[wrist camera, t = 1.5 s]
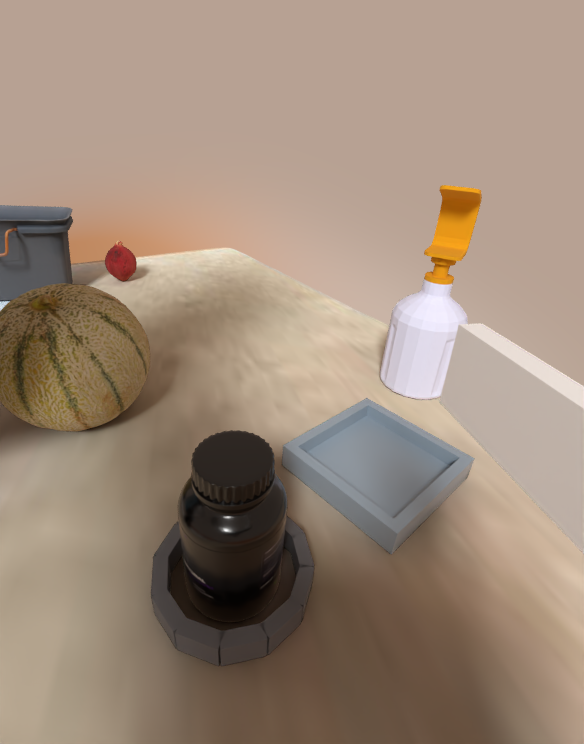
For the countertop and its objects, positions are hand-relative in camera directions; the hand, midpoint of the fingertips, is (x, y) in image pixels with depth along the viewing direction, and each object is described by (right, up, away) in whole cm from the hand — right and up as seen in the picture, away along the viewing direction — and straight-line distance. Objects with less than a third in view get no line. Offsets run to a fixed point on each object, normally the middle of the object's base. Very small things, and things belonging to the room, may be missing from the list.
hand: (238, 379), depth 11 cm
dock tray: (+10, -10, +29) cm, 32 cm away
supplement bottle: (-3, -15, +18) cm, 24 cm away
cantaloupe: (-21, -5, +33) cm, 40 cm away
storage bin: (-48, +14, +62) cm, 80 cm away
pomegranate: (-33, +19, +72) cm, 81 cm away
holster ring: (-3, -15, +18) cm, 24 cm away
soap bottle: (+18, -1, +44) cm, 48 cm away
